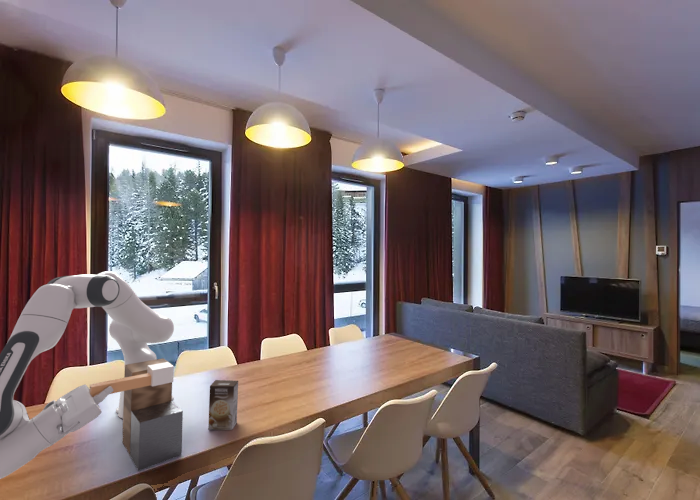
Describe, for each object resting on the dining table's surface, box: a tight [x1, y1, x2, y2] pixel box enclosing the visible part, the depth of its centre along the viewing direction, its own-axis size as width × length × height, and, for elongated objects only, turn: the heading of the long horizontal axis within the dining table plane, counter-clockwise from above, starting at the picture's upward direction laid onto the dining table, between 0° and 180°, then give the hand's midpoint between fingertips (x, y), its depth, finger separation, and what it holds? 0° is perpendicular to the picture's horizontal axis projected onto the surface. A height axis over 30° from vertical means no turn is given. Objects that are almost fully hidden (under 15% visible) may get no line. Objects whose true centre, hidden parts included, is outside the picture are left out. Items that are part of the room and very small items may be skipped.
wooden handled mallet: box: [89, 361, 175, 397], centre depth 105 cm, size 21×6×5 cm, turn 134°
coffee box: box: [207, 379, 239, 431], centre depth 129 cm, size 9×6×16 cm
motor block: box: [129, 400, 184, 472], centre depth 109 cm, size 12×10×14 cm
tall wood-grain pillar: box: [121, 357, 173, 456], centre depth 117 cm, size 12×10×26 cm
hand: (110, 385), depth 101 cm, fingers closed on wooden handled mallet, 3 cm apart
